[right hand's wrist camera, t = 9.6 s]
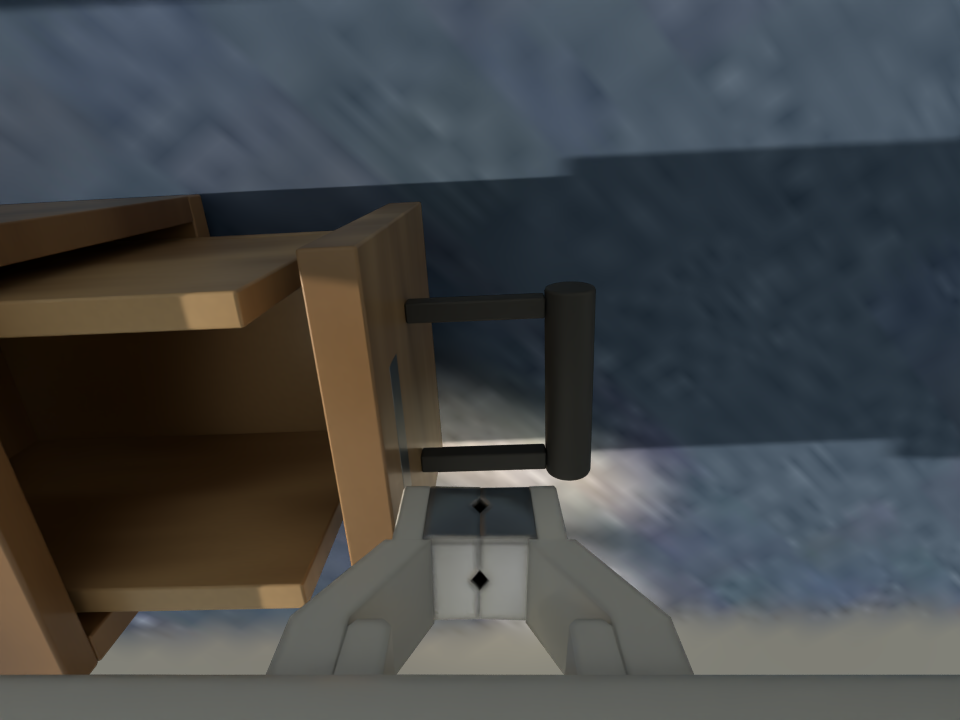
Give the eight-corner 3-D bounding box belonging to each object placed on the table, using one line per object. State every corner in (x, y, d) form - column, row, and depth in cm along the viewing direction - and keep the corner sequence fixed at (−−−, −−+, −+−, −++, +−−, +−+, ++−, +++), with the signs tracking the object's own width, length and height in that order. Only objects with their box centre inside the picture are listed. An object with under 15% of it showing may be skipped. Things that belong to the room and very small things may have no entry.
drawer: (570, 193, 18) (642, 231, 10) (568, 442, 22) (617, 635, 13) (-38, 225, 19) (-484, 286, 11) (56, 459, 23) (-217, 650, 14)
